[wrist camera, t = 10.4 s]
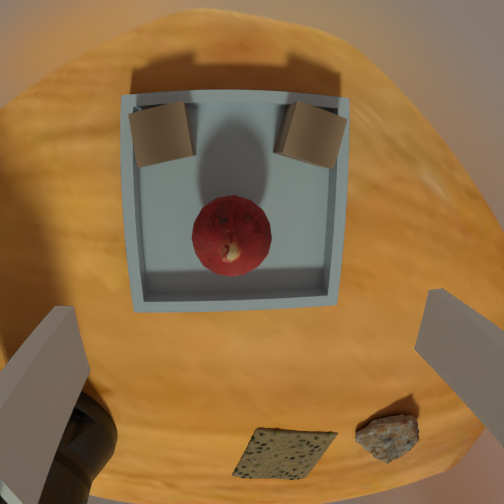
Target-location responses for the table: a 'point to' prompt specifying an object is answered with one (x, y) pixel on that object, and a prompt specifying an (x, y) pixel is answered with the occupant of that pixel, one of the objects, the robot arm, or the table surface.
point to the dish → (240, 184)
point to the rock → (389, 437)
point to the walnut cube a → (161, 134)
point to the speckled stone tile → (282, 453)
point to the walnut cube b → (310, 135)
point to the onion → (231, 236)
